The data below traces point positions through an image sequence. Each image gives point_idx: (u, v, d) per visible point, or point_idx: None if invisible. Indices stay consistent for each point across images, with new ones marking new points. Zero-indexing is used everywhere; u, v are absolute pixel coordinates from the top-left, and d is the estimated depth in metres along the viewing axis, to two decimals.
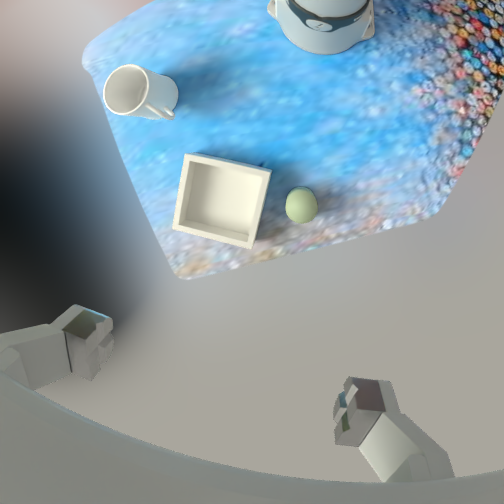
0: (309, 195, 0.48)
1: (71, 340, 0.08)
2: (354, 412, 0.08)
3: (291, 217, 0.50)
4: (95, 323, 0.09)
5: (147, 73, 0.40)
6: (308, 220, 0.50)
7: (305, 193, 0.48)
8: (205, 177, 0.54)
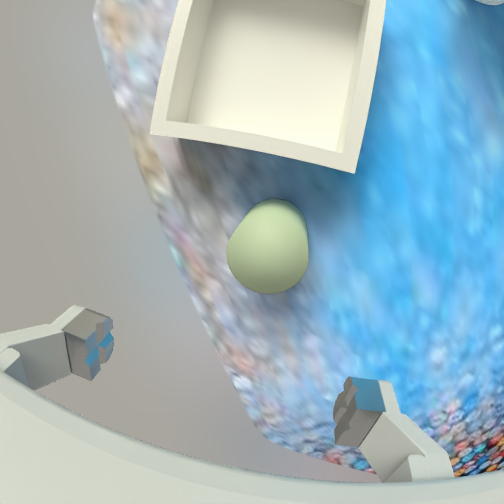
0: (299, 274, 0.20)
1: (71, 340, 0.08)
2: (354, 412, 0.08)
3: (240, 232, 0.19)
4: (95, 323, 0.09)
5: None
6: (236, 273, 0.20)
7: (304, 265, 0.19)
8: (320, 20, 0.18)
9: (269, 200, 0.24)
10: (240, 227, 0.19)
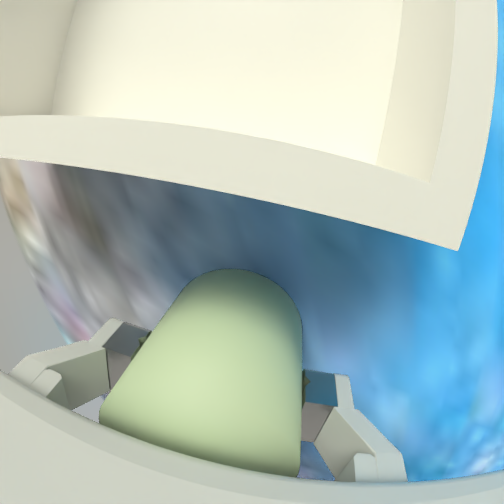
0: None
1: (113, 357, 0.08)
2: (303, 405, 0.08)
3: (116, 406, 0.06)
4: (137, 338, 0.09)
5: None
6: None
7: None
8: None
9: (218, 276, 0.11)
10: (114, 397, 0.06)
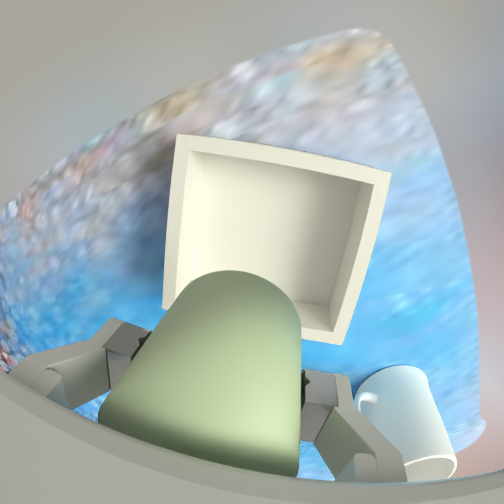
0: None
1: (113, 357, 0.08)
2: (303, 405, 0.08)
3: (115, 408, 0.06)
4: (137, 338, 0.09)
5: None
6: None
7: None
8: (310, 271, 0.26)
9: (217, 278, 0.11)
10: (113, 399, 0.06)
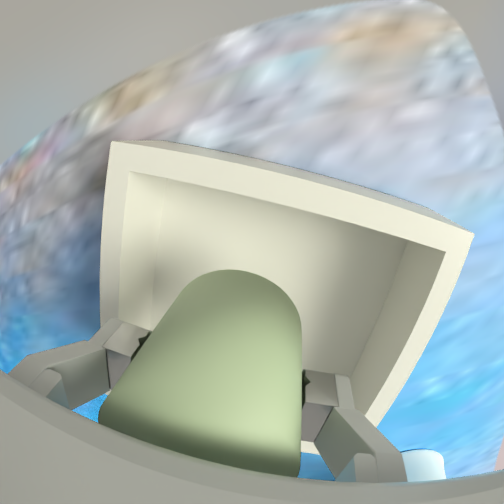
0: None
1: (113, 357, 0.08)
2: (303, 405, 0.08)
3: (115, 407, 0.06)
4: (137, 338, 0.09)
5: None
6: None
7: None
8: (320, 355, 0.17)
9: (217, 277, 0.11)
10: (113, 399, 0.06)
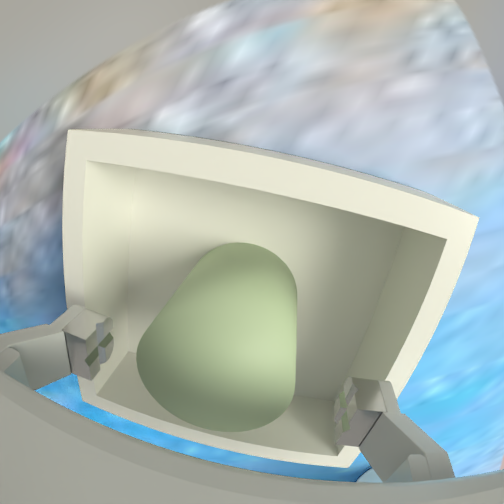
0: (276, 410, 0.09)
1: (71, 340, 0.08)
2: (354, 412, 0.08)
3: (154, 336, 0.09)
4: (95, 323, 0.09)
5: None
6: (159, 398, 0.10)
7: (286, 397, 0.09)
8: (310, 356, 0.16)
9: (229, 247, 0.13)
10: (153, 328, 0.09)
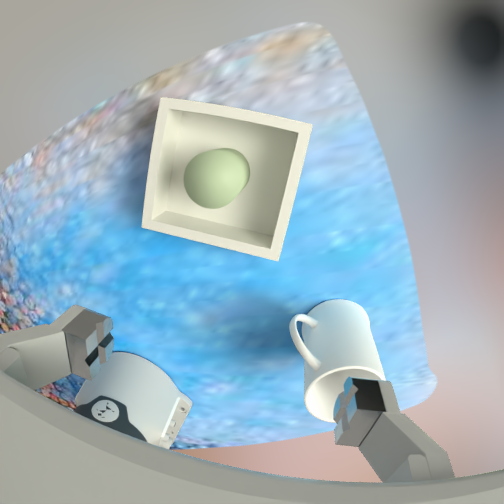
0: (234, 193, 0.27)
1: (71, 340, 0.08)
2: (354, 412, 0.08)
3: (192, 162, 0.26)
4: (95, 323, 0.09)
5: None
6: (190, 193, 0.27)
7: (238, 185, 0.27)
8: (258, 205, 0.33)
9: (220, 148, 0.31)
10: (192, 159, 0.26)
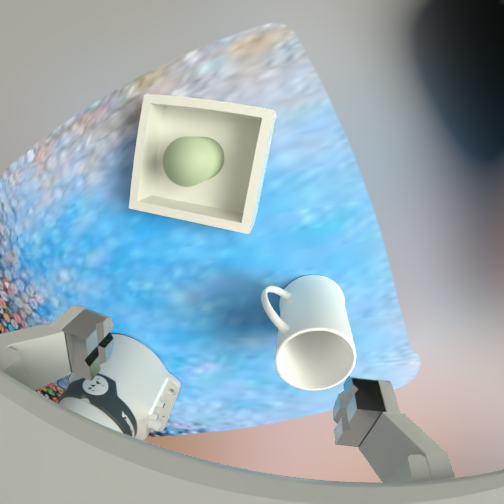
0: (206, 171, 0.30)
1: (71, 340, 0.08)
2: (354, 412, 0.08)
3: (170, 147, 0.30)
4: (95, 323, 0.09)
5: None
6: (168, 174, 0.31)
7: (208, 165, 0.30)
8: (232, 186, 0.36)
9: None
10: (170, 144, 0.30)
